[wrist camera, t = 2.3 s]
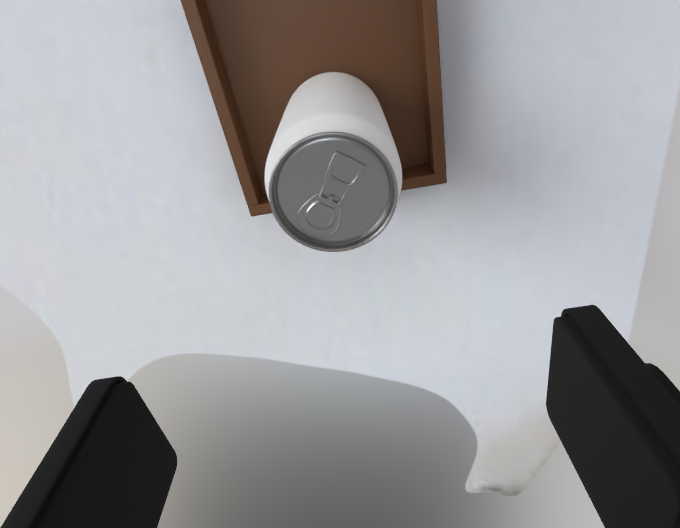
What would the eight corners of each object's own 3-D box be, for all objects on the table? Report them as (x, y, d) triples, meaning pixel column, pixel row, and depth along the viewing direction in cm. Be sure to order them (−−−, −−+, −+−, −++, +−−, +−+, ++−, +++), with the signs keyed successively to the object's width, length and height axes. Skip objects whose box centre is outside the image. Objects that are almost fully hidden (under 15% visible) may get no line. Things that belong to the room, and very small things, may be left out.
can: (270, 144, 30) (237, 227, 20) (309, 50, 27) (293, 91, 17) (354, 184, 32) (364, 279, 21) (400, 99, 28) (437, 164, 18)
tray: (162, -97, 23) (146, -105, 21) (418, -160, 22) (426, -174, 20) (256, 202, 33) (250, 217, 31) (439, 170, 31) (447, 183, 29)
